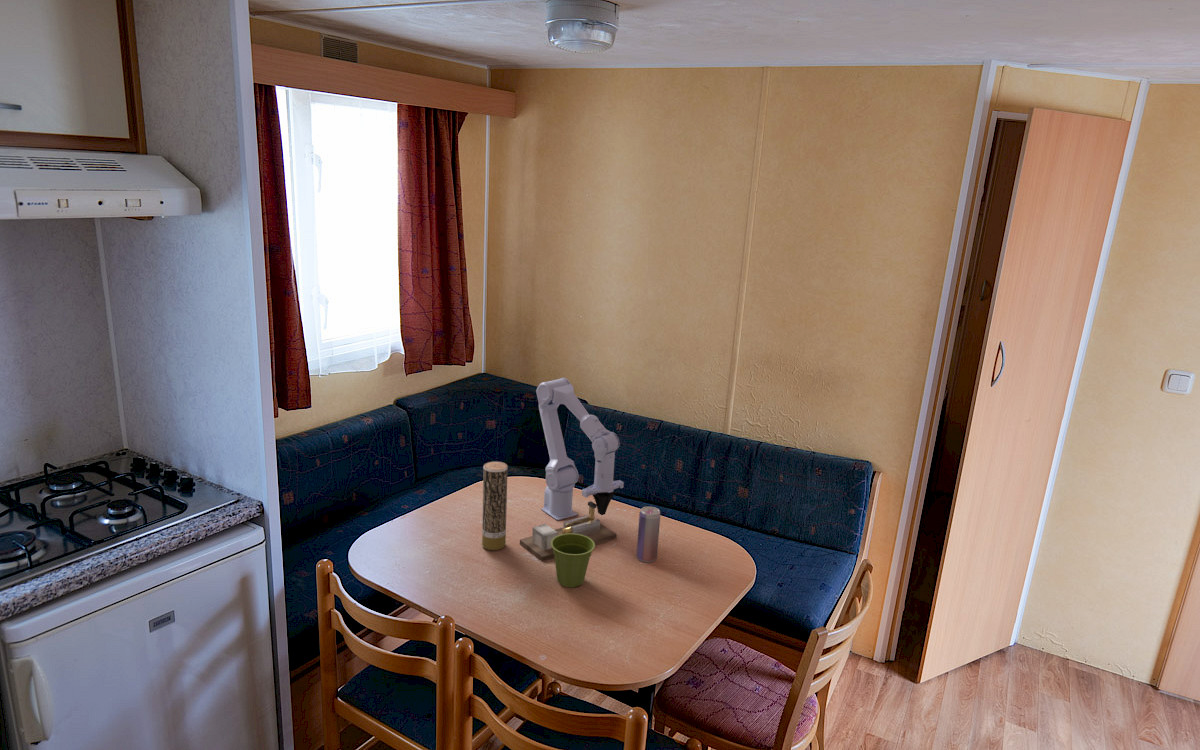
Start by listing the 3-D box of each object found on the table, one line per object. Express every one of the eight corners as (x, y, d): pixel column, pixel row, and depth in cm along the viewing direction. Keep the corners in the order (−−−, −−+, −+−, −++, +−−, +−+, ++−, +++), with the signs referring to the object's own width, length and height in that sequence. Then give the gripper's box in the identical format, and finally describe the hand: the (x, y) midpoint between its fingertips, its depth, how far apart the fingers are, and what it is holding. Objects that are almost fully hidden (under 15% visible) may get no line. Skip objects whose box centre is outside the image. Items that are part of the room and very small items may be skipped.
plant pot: (554, 595, 195) (555, 556, 192) (545, 572, 206) (546, 534, 203) (597, 590, 198) (600, 552, 195) (586, 568, 209) (588, 531, 206)
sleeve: (563, 533, 225) (563, 521, 224) (589, 526, 231) (590, 514, 230) (572, 540, 221) (573, 528, 220) (599, 532, 227) (600, 520, 226)
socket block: (532, 541, 219) (532, 527, 218) (545, 537, 222) (545, 523, 221) (544, 550, 214) (544, 536, 213) (557, 546, 217) (557, 532, 216)
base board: (519, 544, 220) (519, 539, 220) (593, 523, 236) (593, 518, 236) (541, 561, 211) (542, 556, 211) (616, 538, 227) (616, 534, 227)
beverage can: (632, 559, 215) (636, 511, 211) (641, 551, 220) (645, 504, 216) (651, 565, 212) (655, 516, 209) (660, 556, 218) (664, 509, 214)
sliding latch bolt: (561, 534, 223) (562, 508, 221) (590, 526, 229) (592, 500, 227) (566, 538, 221) (567, 512, 219) (596, 529, 227) (597, 504, 225)
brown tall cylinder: (507, 541, 221) (509, 462, 215) (502, 552, 215) (504, 471, 208) (485, 539, 222) (486, 460, 215) (479, 550, 215) (480, 469, 209)
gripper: (592, 481, 218) (590, 524, 222) (631, 472, 227) (628, 513, 230) (578, 473, 224) (576, 515, 227) (616, 464, 232) (613, 504, 236)
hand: (601, 513), depth 229 cm, fingers closed
